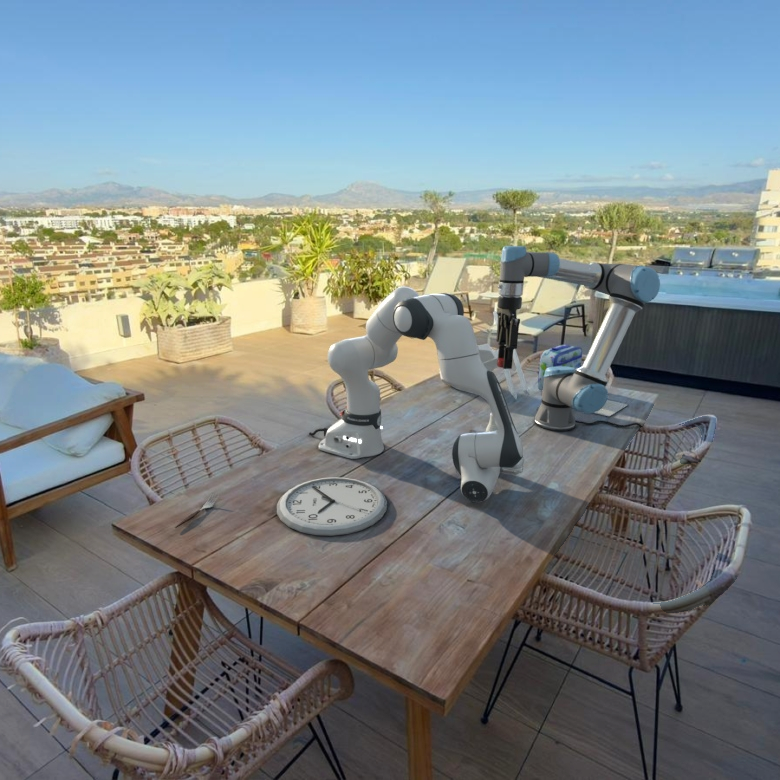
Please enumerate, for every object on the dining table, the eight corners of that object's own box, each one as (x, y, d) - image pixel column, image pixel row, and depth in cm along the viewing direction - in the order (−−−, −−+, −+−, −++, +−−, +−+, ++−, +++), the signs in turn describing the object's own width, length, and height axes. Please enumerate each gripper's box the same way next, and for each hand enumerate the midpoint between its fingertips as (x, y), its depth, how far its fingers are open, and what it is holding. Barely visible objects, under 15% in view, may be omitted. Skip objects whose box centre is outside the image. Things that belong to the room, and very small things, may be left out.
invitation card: (608, 416, 214) (573, 407, 224) (608, 416, 214) (573, 408, 224) (628, 404, 229) (594, 396, 238) (628, 405, 229) (594, 397, 238)
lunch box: (554, 397, 237) (559, 352, 231) (533, 392, 244) (538, 348, 238) (581, 386, 255) (586, 344, 248) (560, 381, 262) (565, 340, 256)
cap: (500, 368, 172) (501, 361, 171) (494, 364, 176) (495, 357, 175) (513, 367, 173) (514, 360, 172) (507, 364, 177) (508, 357, 176)
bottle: (480, 466, 167) (484, 411, 162) (496, 466, 168) (501, 410, 163) (485, 474, 162) (490, 417, 157) (501, 473, 163) (507, 416, 158)
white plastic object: (461, 429, 252) (437, 405, 227) (444, 352, 274) (420, 323, 250) (535, 404, 240) (518, 377, 215) (510, 326, 262) (492, 293, 237)
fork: (171, 528, 130) (170, 521, 130) (212, 499, 145) (211, 492, 144) (179, 530, 129) (178, 523, 129) (220, 500, 144) (219, 494, 143)
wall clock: (392, 527, 129) (268, 531, 127) (391, 533, 130) (269, 537, 127) (383, 473, 158) (282, 475, 155) (383, 478, 158) (282, 480, 156)
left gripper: (522, 463, 147) (527, 445, 160) (451, 452, 154) (462, 435, 166) (520, 483, 149) (525, 464, 162) (450, 471, 156) (461, 454, 168)
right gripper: (489, 292, 175) (484, 360, 182) (509, 299, 158) (503, 373, 165) (510, 292, 176) (505, 359, 183) (532, 299, 160) (525, 373, 167)
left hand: (493, 449), depth 164 cm, fingers closed on bottle, 5 cm apart
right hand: (504, 366), depth 174 cm, fingers closed on cap, 4 cm apart
